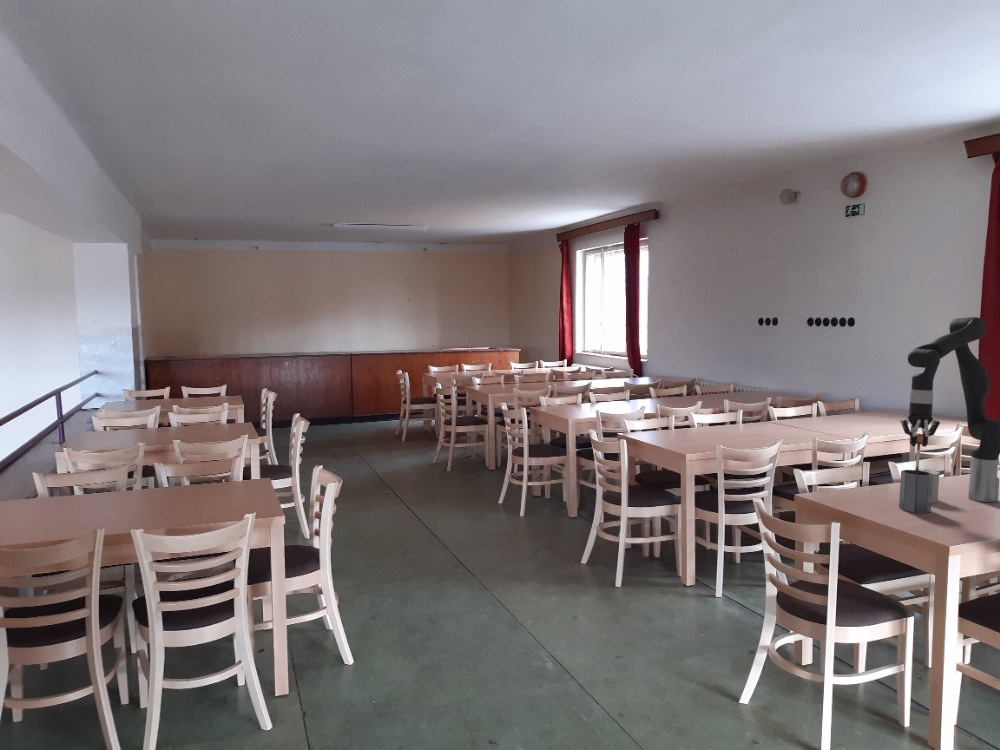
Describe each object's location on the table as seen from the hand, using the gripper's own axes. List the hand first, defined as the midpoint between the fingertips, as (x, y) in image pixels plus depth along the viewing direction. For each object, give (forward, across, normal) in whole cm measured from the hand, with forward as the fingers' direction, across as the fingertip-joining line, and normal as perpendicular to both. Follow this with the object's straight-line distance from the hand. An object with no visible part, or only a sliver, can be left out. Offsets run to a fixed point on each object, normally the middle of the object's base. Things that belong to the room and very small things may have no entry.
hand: (918, 445), depth 276 cm
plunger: (+16, 0, 0) cm, 16 cm away
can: (+25, -11, -17) cm, 32 cm away
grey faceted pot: (+25, 0, -1) cm, 25 cm away
